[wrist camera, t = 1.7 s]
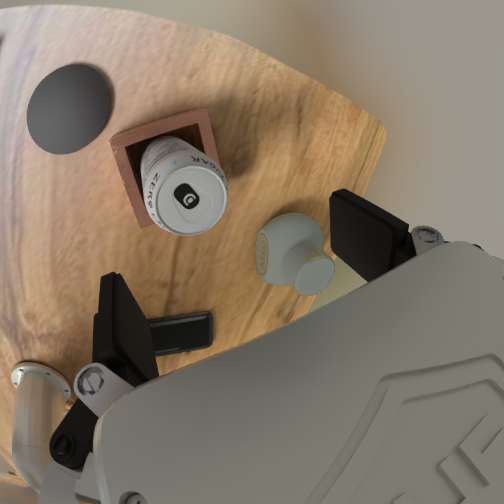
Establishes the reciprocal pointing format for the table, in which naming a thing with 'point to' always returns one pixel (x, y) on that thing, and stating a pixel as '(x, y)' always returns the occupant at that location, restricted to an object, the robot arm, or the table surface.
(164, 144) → the energy drink can
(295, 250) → the air freshener
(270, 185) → the table surface
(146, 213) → the collar
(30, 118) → the mat
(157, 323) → the phone
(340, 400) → the robot arm
